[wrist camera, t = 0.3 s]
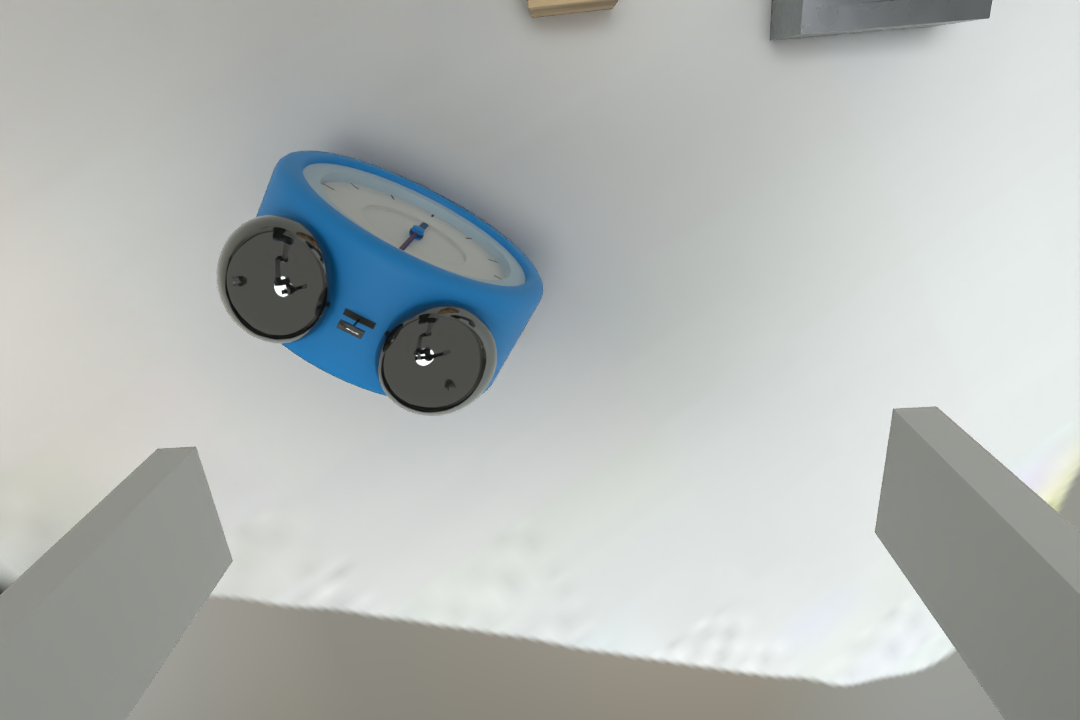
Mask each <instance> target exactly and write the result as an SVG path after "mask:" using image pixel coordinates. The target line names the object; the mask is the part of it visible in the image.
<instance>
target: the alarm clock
mask: <svg viewBox="0 0 1080 720" xmlns="http://www.w3.org/2000/svg"><path fill="white" fill-rule="evenodd" d="M217 285H218V291H219V294H220V298H221V300H222V302H223V305H224V307H225V309H226V310H227V312H228V314H229V315H230V317H231V318H232V320H233V321H234V322H235V323H236V324H237V325H238V326H239V327H240V328H242V329H243V330H244V331H246V332H247V333H248V334H250V335H251V336H253V337H256V338H258V339H261V340H263V341H266V342H272V343H281V344H282V345H284V346H285V347H287V348H288V349H289V350H291V351H292V352H293V353H295V354H296V355H298V356H299V357H301V358H302V359H304V360H306V361H307V362H309V363H311V364H312V365H314V366H316V367H318V368H319V369H321V370H323V371H325V372H327V373H329V374H331V375H333V376H335V377H337V378H339V379H342V380H344V381H346V382H348V383H351V384H353V385H356V386H358V387H361V388H364V389H366V390H369V391H372V392H375V393H379V394H382V395H386V396H388V397H389V399H391V400H392V401H393V402H394V403H395V404H397V405H398V406H400V407H401V408H403V409H405V410H407V411H409V412H412V413H415V414H419V415H427V416H439V415H445V414H450V413H453V412H456V411H458V410H461V409H462V408H464V407H466V406H468V405H469V404H471V403H472V402H473V401H475V400H476V399H477V398H478V397H479V396H480V395H481V394H483V393H484V392H485V391H486V390H487V389H488V388H489V387H490V386H491V385H492V383H493V381H494V380H495V378H496V376H497V374H498V373H499V371H500V369H501V368H502V366H503V364H504V362H505V361H506V359H507V357H508V355H509V354H510V352H511V350H512V348H513V347H514V345H515V343H516V342H517V340H518V338H519V336H520V335H521V333H522V331H523V329H524V328H525V326H526V324H527V322H528V321H529V319H530V317H531V316H532V314H533V312H534V310H535V309H536V307H537V305H538V303H539V302H540V300H541V297H542V294H543V284H542V280H541V277H540V275H539V273H538V271H537V270H536V268H535V267H534V265H533V264H532V263H531V261H530V260H529V259H528V258H527V257H526V256H525V255H524V254H523V253H522V252H521V251H520V250H519V249H518V248H517V247H516V246H515V245H514V244H513V243H512V242H510V241H509V240H508V239H507V238H506V237H504V236H503V235H502V234H500V233H499V232H498V231H496V230H495V229H494V228H492V227H491V226H490V225H488V224H487V223H485V222H484V221H482V220H481V219H479V218H478V217H476V216H475V215H473V214H472V213H470V212H468V211H467V210H465V209H463V208H462V207H460V206H458V205H457V204H455V203H453V202H451V201H450V200H448V199H446V198H444V197H442V196H441V195H439V194H437V193H435V192H433V191H431V190H429V189H427V188H425V187H423V186H421V185H419V184H417V183H415V182H413V181H410V180H408V179H406V178H404V177H402V176H399V175H397V174H395V173H392V172H390V171H387V170H385V169H382V168H380V167H377V166H374V165H371V164H368V163H366V162H363V161H359V160H356V159H353V158H349V157H346V156H342V155H338V154H333V153H328V152H321V151H298V152H293V153H290V154H288V155H286V156H284V157H283V158H281V159H280V160H279V162H278V163H277V165H276V167H275V169H274V171H273V174H272V177H271V179H270V182H269V185H268V187H267V190H266V193H265V195H264V198H263V201H262V203H261V206H260V209H259V211H258V214H257V217H256V218H254V219H252V220H249V221H248V222H246V223H244V224H242V225H241V226H240V227H239V228H237V229H236V230H235V231H234V232H233V233H232V234H231V235H230V237H229V238H228V240H227V241H226V242H225V244H224V247H223V249H222V251H221V254H220V257H219V261H218V266H217Z"/></svg>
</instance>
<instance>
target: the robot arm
mask: <svg viewBox="0 0 1080 720" xmlns="http://www.w3.org/2000/svg"><path fill="white" fill-rule="evenodd" d="M875 533H876V535H877V536H878V538H879V539H880V540H881V542H882V543H883V545H884V546H885V548H886V549H887V550H888V552H889V553H890V555H891V556H892V558H893V559H894V561H895V562H896V563H897V565H898V566H899V568H900V569H901V571H902V572H903V574H904V575H905V576H906V578H907V579H908V581H909V582H910V584H911V585H912V586H913V588H914V589H915V591H916V592H917V594H918V595H919V597H920V598H921V599H922V601H923V602H924V604H925V605H926V607H927V608H928V610H929V611H930V612H931V614H932V615H933V617H934V618H935V620H936V621H937V622H938V624H939V625H940V627H941V628H942V630H943V631H944V633H945V634H946V635H947V637H948V638H949V640H950V641H951V643H952V644H953V646H954V647H955V648H956V650H957V651H958V653H959V654H960V656H961V657H962V659H963V660H964V661H965V663H966V664H967V666H968V667H969V669H970V670H971V671H972V673H973V674H974V676H975V677H976V679H977V680H978V681H979V683H980V684H981V686H982V687H983V689H984V690H985V691H986V693H987V695H988V696H989V697H990V699H991V700H992V702H993V703H994V705H995V706H996V707H997V709H998V710H999V712H1000V713H1001V714H1002V716H1003V718H1004V719H1005V720H1080V532H1079V531H1078V530H1077V529H1076V528H1075V527H1074V526H1073V525H1071V524H1070V523H1069V522H1068V521H1067V520H1066V519H1065V518H1063V517H1062V516H1061V515H1060V514H1059V513H1058V512H1057V511H1055V510H1054V509H1053V508H1052V507H1051V506H1050V505H1049V504H1047V503H1046V502H1045V501H1044V500H1043V499H1042V498H1041V497H1039V496H1038V495H1037V494H1036V493H1035V492H1034V491H1033V490H1031V489H1030V488H1029V487H1028V486H1027V485H1026V484H1025V483H1023V482H1022V481H1021V480H1020V479H1019V478H1018V477H1017V476H1015V475H1014V474H1013V473H1012V472H1011V471H1010V470H1009V469H1007V468H1006V467H1005V466H1004V465H1003V464H1002V463H1000V462H999V461H998V460H997V459H996V458H995V457H994V456H992V455H991V454H990V453H989V452H988V451H987V450H986V449H984V448H983V447H982V446H981V445H980V444H979V443H978V442H976V441H975V440H974V439H973V438H972V437H971V436H970V435H968V434H967V433H966V432H965V431H964V430H963V429H962V428H960V427H959V426H958V425H957V424H956V423H955V422H954V421H952V420H951V419H950V418H949V417H948V416H947V415H946V414H944V413H943V412H942V411H941V410H940V409H939V408H938V407H918V408H900V409H893V414H892V420H891V427H890V434H889V440H888V447H887V454H886V460H885V467H884V474H883V481H882V487H881V494H880V501H879V507H878V514H877V521H876V527H875ZM232 561H233V560H232V557H231V554H230V551H229V548H228V545H227V542H226V538H225V535H224V532H223V529H222V526H221V523H220V520H219V517H218V514H217V510H216V507H215V504H214V501H213V498H212V495H211V492H210V489H209V486H208V482H207V479H206V476H205V473H204V470H203V467H202V464H201V461H200V458H199V455H198V451H197V448H196V447H181V448H163V449H157V450H156V451H155V452H154V453H153V454H151V455H150V456H149V457H148V458H147V459H146V460H145V461H144V462H143V463H142V464H141V465H140V466H139V467H137V468H136V469H135V470H134V471H133V472H132V473H131V474H130V475H129V476H128V477H127V478H126V479H125V480H123V481H122V482H121V483H120V484H119V485H118V486H117V487H116V488H115V489H114V490H113V491H112V492H111V493H109V494H108V495H107V496H106V497H105V498H104V499H103V500H102V501H101V502H100V503H99V504H98V505H97V506H95V507H94V508H93V509H92V510H91V511H90V512H89V513H88V514H87V515H86V516H85V517H84V518H83V519H81V520H80V521H79V522H78V523H77V524H76V525H75V526H74V527H73V528H72V529H71V530H70V531H69V532H68V533H66V534H65V535H64V536H63V537H62V538H61V539H60V540H59V541H58V542H57V543H56V544H55V545H54V546H52V547H51V548H50V549H49V550H48V551H47V552H46V553H45V554H44V555H43V556H42V557H41V558H40V559H38V560H37V561H36V562H35V563H34V564H33V565H32V566H31V567H30V568H29V569H28V570H27V571H26V572H24V573H23V574H22V575H21V576H20V577H19V578H18V579H17V580H16V581H15V582H14V583H13V584H12V585H10V586H9V587H8V588H7V589H6V590H5V591H4V592H3V593H2V594H1V595H0V720H126V718H127V717H128V716H129V714H130V713H131V711H132V710H133V708H134V707H135V705H136V704H137V702H138V701H139V699H140V698H141V696H142V695H143V693H144V692H145V690H146V689H147V687H148V686H149V685H150V683H151V682H152V680H153V679H154V677H155V676H156V674H157V673H158V671H159V670H160V668H161V667H162V665H163V664H164V662H165V661H166V659H167V658H168V656H169V655H170V653H171V652H172V650H173V649H174V647H175V646H176V644H177V643H178V641H179V640H180V638H181V637H182V635H183V634H184V632H185V631H186V630H187V628H188V626H189V625H190V624H191V622H192V621H193V619H194V618H195V616H196V614H197V613H198V612H199V610H200V609H201V607H202V606H203V604H204V603H205V601H206V600H207V598H208V597H209V595H210V594H211V592H212V591H213V589H214V588H215V586H216V585H217V583H218V582H219V580H220V579H221V577H222V576H223V575H224V573H225V572H226V570H227V569H228V567H229V566H230V564H231V563H232Z"/></svg>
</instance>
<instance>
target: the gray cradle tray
mask: <svg viewBox="0 0 1080 720" xmlns="http://www.w3.org/2000/svg"><path fill="white" fill-rule="evenodd" d="M991 5H992V0H772V11H771V30H770V40H778V39H790V38H801V37H813V36H825V35H836V34H848V33H860V32H871V31H883V30H894V29H906V28H918V27H929V26H938V25H945V24H952V23H959V22H966V21H973V20H980V19H987V18H989V17H990V11H991Z"/></svg>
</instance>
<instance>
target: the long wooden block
mask: <svg viewBox="0 0 1080 720" xmlns="http://www.w3.org/2000/svg"><path fill="white" fill-rule="evenodd" d="M617 2H618V0H528V8H529V11H530V13H531V15H532V17H542V16H551V15H559V14H568V13H577V12H586V11H595V10H604V9H612V8H613V7H614V6H615V4H616V3H617Z"/></svg>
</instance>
